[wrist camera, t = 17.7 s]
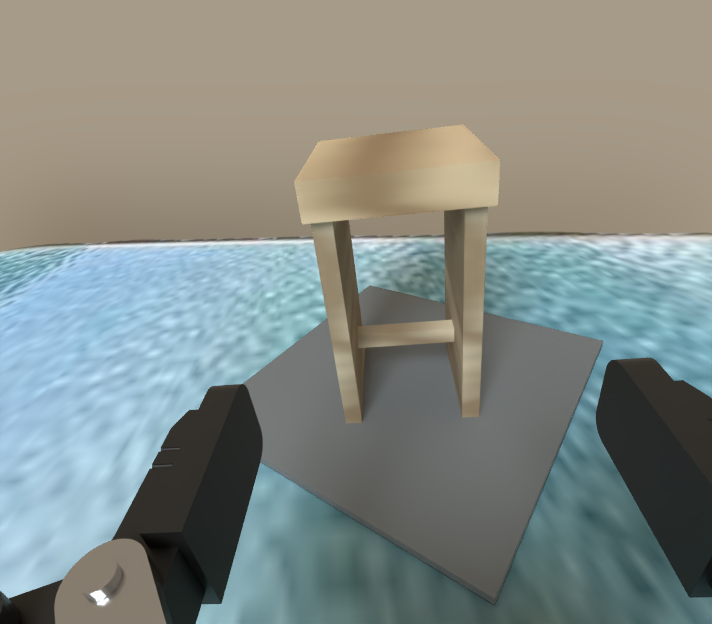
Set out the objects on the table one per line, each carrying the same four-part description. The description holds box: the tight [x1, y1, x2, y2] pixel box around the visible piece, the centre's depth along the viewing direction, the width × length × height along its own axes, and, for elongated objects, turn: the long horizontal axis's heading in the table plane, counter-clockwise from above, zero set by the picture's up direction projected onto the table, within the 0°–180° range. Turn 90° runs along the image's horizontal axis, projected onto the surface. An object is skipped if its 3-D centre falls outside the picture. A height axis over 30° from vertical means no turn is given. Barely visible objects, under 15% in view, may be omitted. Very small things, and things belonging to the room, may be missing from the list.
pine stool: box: [294, 125, 500, 423], centre depth 21 cm, size 7×7×12 cm
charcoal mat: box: [243, 286, 603, 605], centre depth 24 cm, size 16×16×1 cm
